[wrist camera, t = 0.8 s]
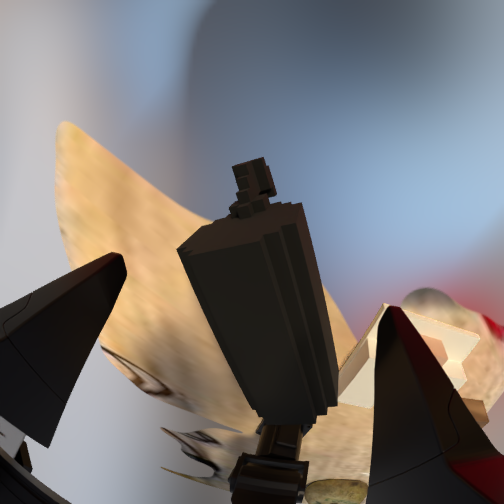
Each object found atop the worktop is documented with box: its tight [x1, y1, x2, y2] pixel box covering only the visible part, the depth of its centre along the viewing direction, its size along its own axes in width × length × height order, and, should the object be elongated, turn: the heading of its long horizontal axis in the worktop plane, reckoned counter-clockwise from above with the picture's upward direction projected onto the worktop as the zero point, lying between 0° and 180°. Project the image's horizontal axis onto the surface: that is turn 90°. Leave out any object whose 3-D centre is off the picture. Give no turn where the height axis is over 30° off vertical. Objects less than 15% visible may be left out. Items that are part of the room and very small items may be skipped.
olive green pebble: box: [304, 479, 368, 504], centre depth 41 cm, size 14×13×5 cm
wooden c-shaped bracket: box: [462, 398, 489, 428], centre depth 27 cm, size 8×10×4 cm
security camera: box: [176, 157, 339, 425], centre depth 20 cm, size 7×18×10 cm, turn 18°
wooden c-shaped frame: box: [338, 303, 480, 409], centre depth 24 cm, size 12×13×4 cm
